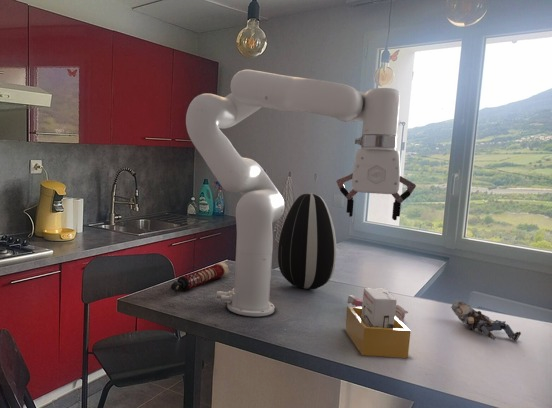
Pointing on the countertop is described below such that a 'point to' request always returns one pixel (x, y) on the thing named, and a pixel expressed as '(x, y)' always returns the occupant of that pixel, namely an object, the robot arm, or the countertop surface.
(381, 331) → the holder
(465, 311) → the toy
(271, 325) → the countertop surface
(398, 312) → the toy
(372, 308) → the ink box
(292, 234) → the sunflower seed
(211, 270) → the shock absorber
